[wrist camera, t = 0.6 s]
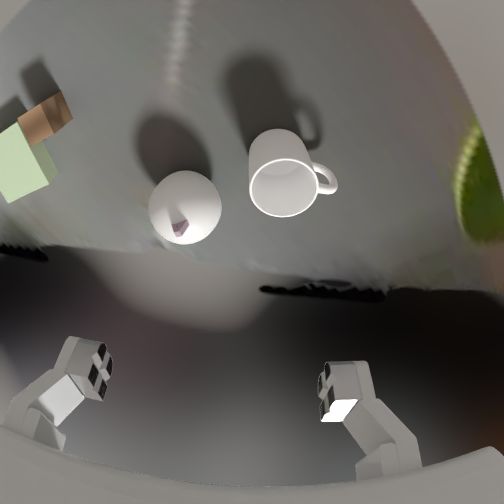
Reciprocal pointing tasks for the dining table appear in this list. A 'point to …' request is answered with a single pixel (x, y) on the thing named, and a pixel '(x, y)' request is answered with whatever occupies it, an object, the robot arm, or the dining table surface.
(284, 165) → the cup
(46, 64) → the dining table surface
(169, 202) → the ornament
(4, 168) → the base box
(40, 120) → the walnut block
